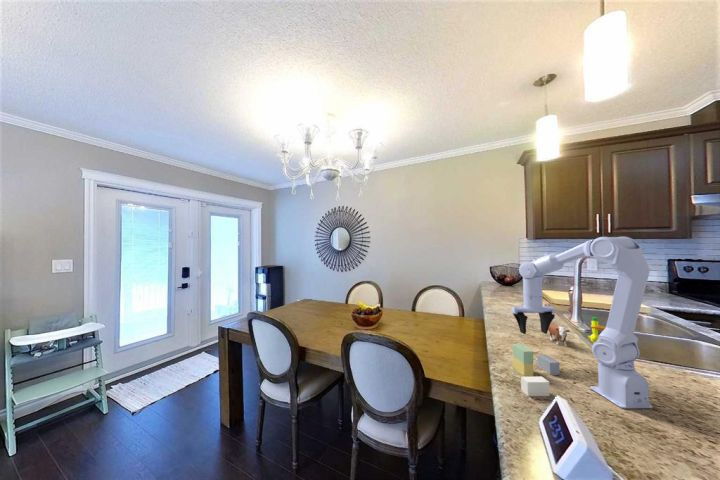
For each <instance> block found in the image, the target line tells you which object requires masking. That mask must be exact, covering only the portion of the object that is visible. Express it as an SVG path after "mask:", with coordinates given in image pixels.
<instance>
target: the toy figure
mask: <svg viewBox="0 0 720 480" xmlns="http://www.w3.org/2000/svg"><path fill="white" fill-rule="evenodd" d="M590 328H591V330H592V334H591V335H587V337H588V339H589V340H590V341H591V343H592V345H593V344H594V343H595V342H596V341H597V340H598V338H599V335H600V334H599V331H603V330H604V329H605V328H606V326H602V325H600V324H599V319H598V318H597V317H596V316H595V317H593V316H592V317H591V325H590Z"/></svg>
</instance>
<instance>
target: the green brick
mask: <svg viewBox="0 0 720 480" xmlns="http://www.w3.org/2000/svg"><path fill="white" fill-rule="evenodd" d="M513 356H514V357H515V358H517V359H518V360H519V361H520V362H522V363H523V364H533V365H534V351H533V350H531V349H530V348H528V347H527V346H525V345H524V344H522V343H513V344H512V357H513Z"/></svg>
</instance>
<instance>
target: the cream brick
mask: <svg viewBox="0 0 720 480" xmlns="http://www.w3.org/2000/svg"><path fill="white" fill-rule="evenodd" d="M520 388H521V389H520V390H521V392H523V393H524V394H525V395H526V396H527V397H550V381H548V380H547V379H545V378H544V376H532V377H524V376H520Z"/></svg>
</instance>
